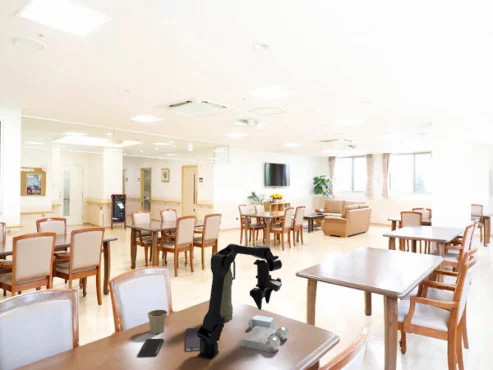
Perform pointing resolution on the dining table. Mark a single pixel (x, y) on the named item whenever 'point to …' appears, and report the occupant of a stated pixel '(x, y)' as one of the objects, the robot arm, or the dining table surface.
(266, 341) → the steel hinge leaf
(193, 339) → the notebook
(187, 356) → the dining table surface
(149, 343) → the phone
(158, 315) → the flower pot
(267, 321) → the blue-grey hinge leaf
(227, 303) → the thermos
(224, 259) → the robot arm
